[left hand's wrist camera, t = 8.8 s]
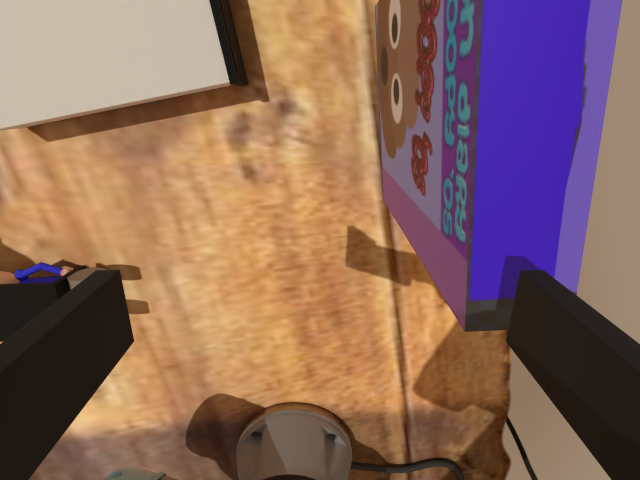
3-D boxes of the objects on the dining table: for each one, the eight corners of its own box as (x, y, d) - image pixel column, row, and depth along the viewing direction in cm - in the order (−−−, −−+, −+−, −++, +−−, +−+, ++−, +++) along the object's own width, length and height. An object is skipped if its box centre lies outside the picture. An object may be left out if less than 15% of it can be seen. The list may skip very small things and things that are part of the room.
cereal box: (375, 6, 33) (488, -180, 11) (429, 0, 33) (659, -201, 11) (382, 199, 39) (466, 334, 17) (429, 194, 39) (575, 325, 17)
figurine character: (123, 248, 43) (-20, 258, 41) (94, 278, 36) (-80, 291, 34) (135, 301, 45) (0, 311, 44) (110, 338, 38) (-53, 352, 37)
